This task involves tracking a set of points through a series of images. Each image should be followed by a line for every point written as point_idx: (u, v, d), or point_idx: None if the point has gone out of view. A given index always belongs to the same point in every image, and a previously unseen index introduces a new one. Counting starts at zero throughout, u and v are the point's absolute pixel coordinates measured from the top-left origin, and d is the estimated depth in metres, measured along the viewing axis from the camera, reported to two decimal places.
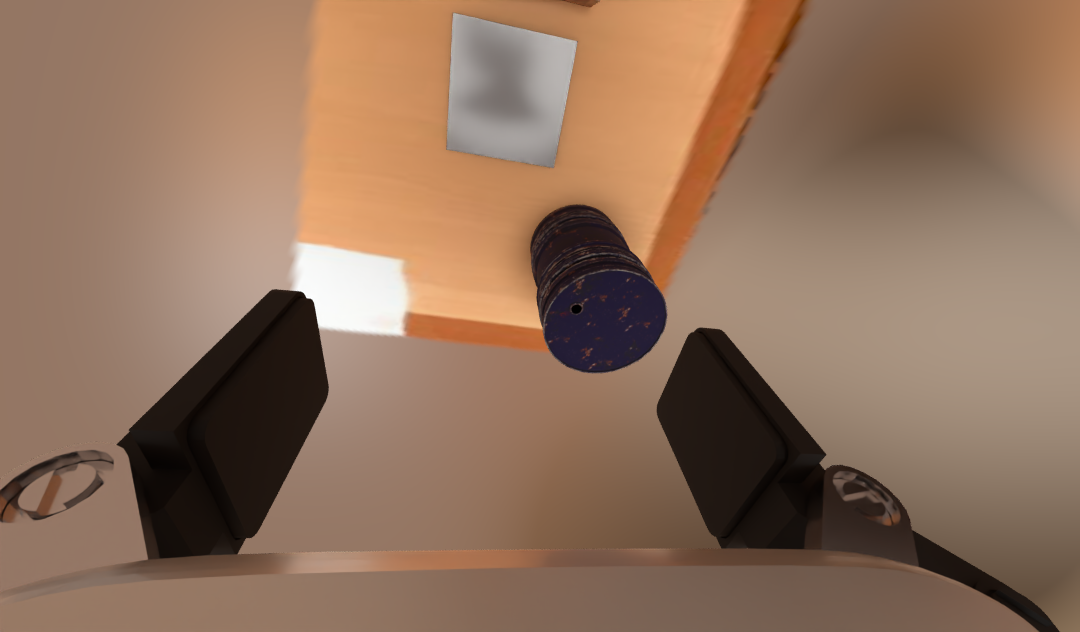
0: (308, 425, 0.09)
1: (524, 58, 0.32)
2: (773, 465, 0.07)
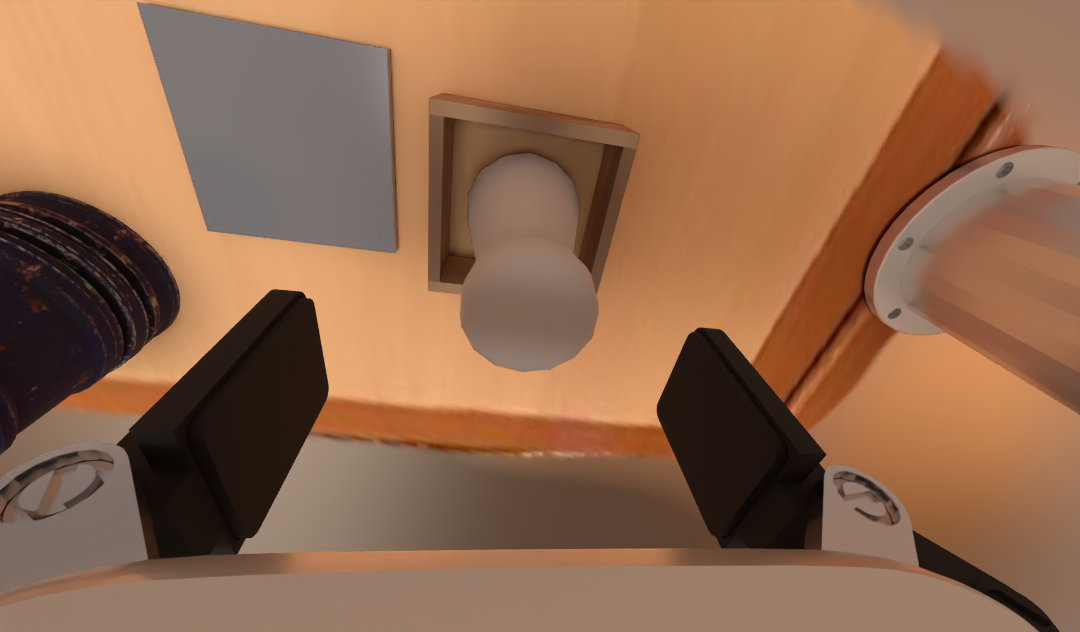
0: (308, 425, 0.09)
1: (354, 176, 0.20)
2: (773, 465, 0.07)
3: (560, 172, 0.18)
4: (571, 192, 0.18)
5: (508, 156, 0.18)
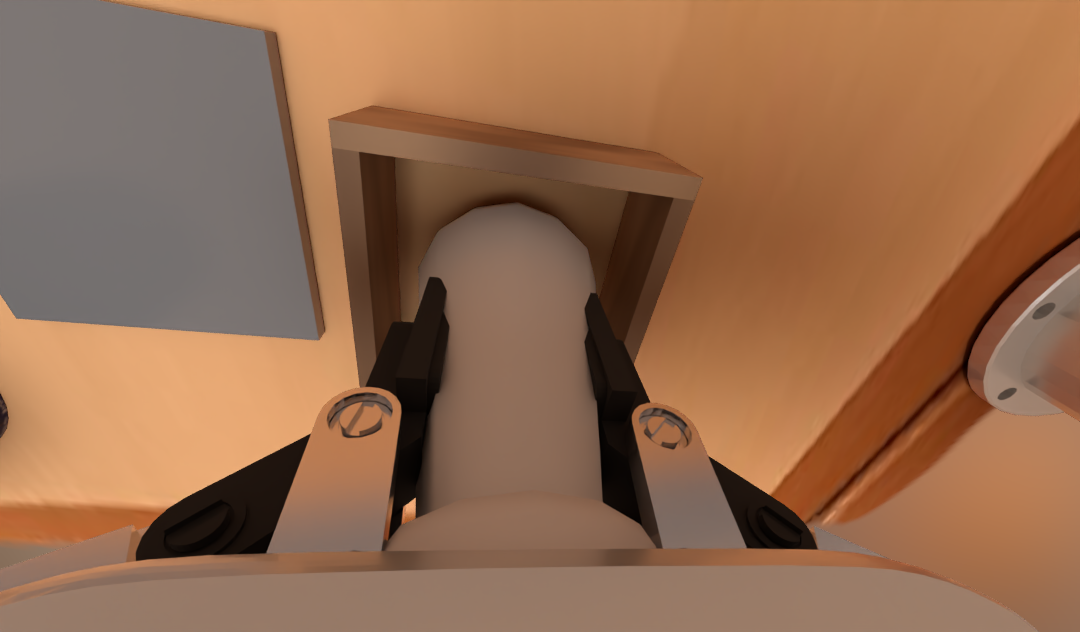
0: None
1: (238, 235, 0.13)
2: (597, 404, 0.07)
3: (566, 235, 0.11)
4: (586, 271, 0.11)
5: (480, 211, 0.11)
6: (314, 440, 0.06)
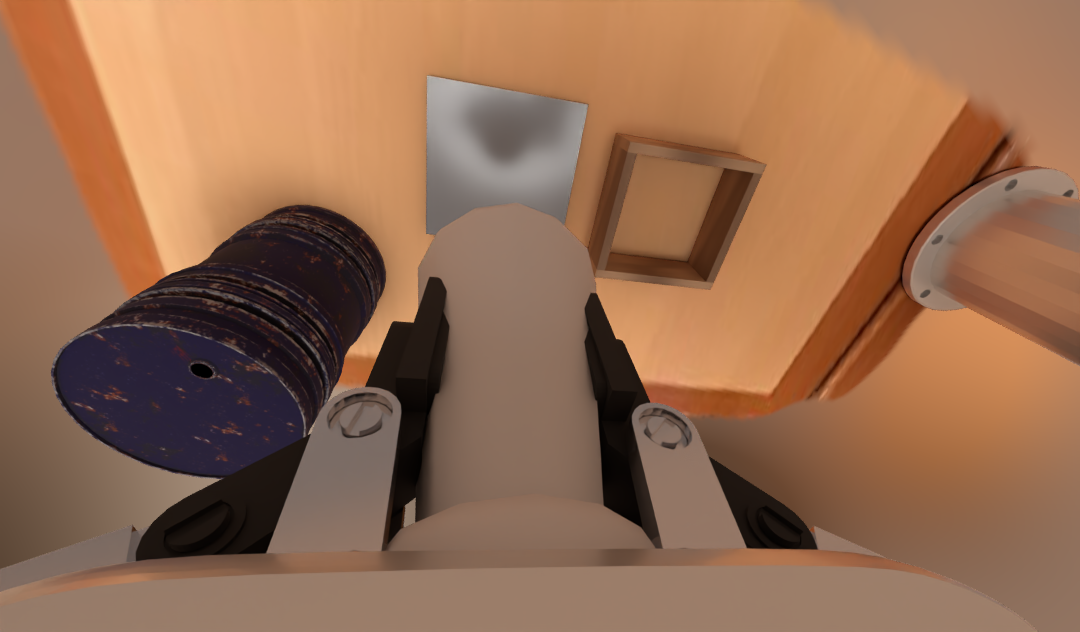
0: None
1: (543, 192, 0.27)
2: (597, 404, 0.07)
3: (566, 236, 0.11)
4: (586, 272, 0.11)
5: (480, 212, 0.11)
6: (314, 440, 0.06)
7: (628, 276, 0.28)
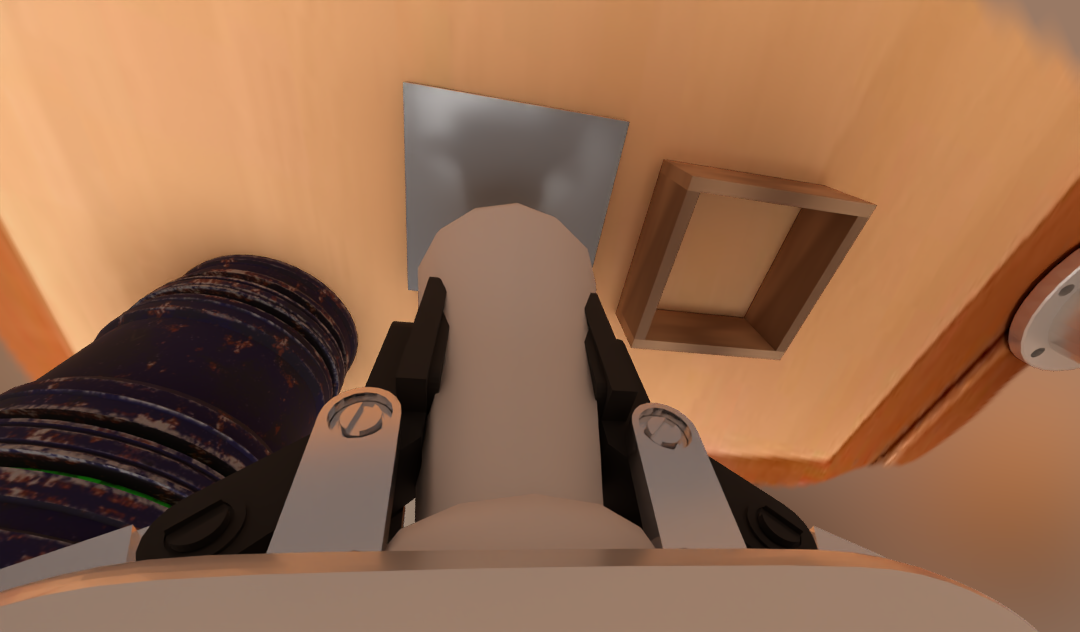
0: None
1: None
2: (597, 404, 0.07)
3: (566, 236, 0.11)
4: (586, 272, 0.11)
5: (480, 212, 0.11)
6: (314, 440, 0.06)
7: (676, 345, 0.21)
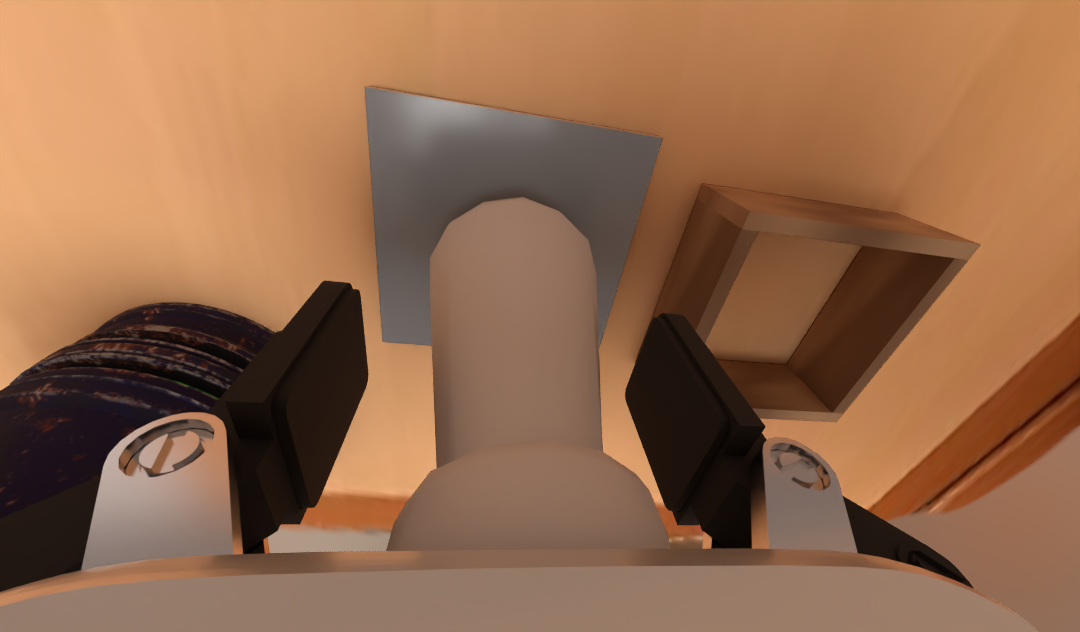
0: (353, 408, 0.09)
1: None
2: (717, 438, 0.07)
3: (568, 228, 0.12)
4: (587, 261, 0.12)
5: (489, 205, 0.12)
6: (106, 493, 0.04)
7: None
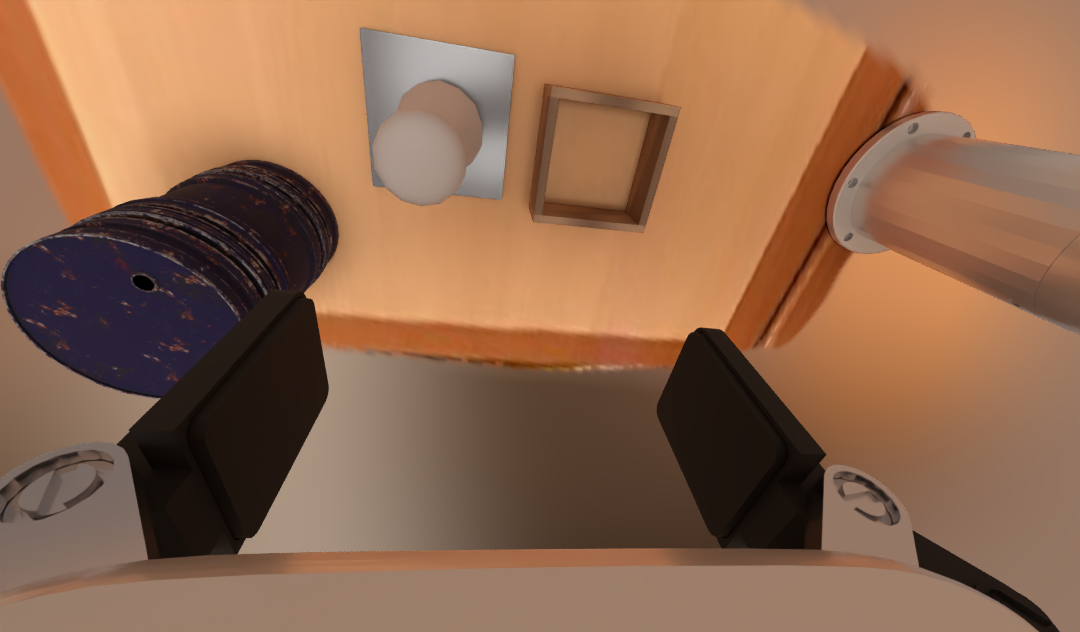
0: (308, 425, 0.09)
1: None
2: (773, 465, 0.07)
3: (461, 94, 0.25)
4: (470, 108, 0.25)
5: (422, 83, 0.25)
6: None
7: (565, 220, 0.30)
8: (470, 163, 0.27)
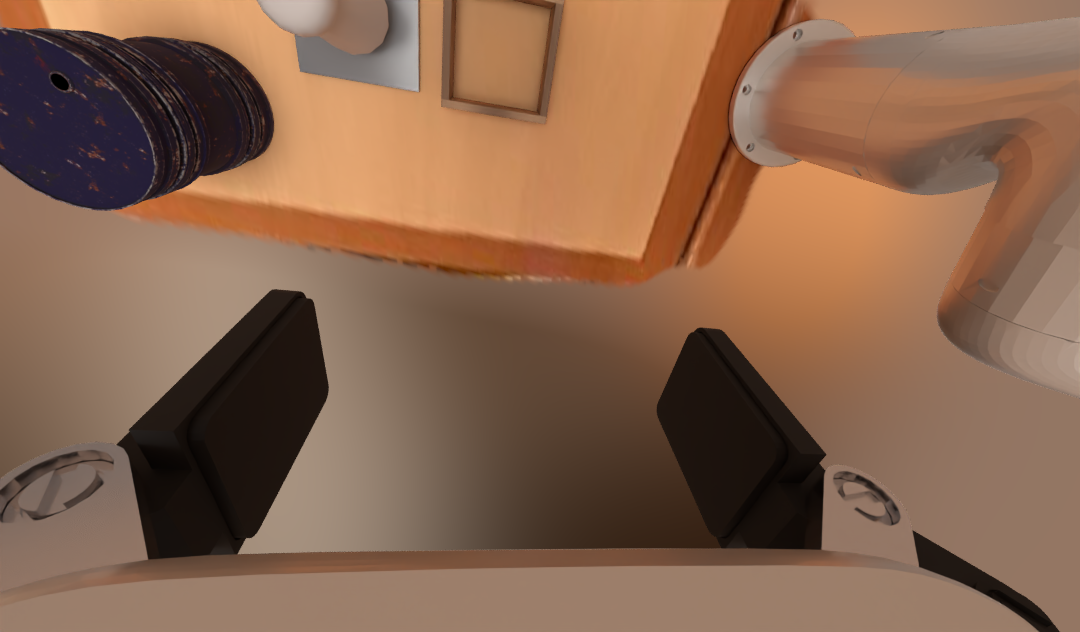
0: (308, 425, 0.09)
1: (394, 32, 0.33)
2: (773, 465, 0.07)
3: None
4: None
5: None
6: None
7: (470, 106, 0.34)
8: (376, 41, 0.30)
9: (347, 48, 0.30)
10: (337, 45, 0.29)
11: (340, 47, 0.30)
